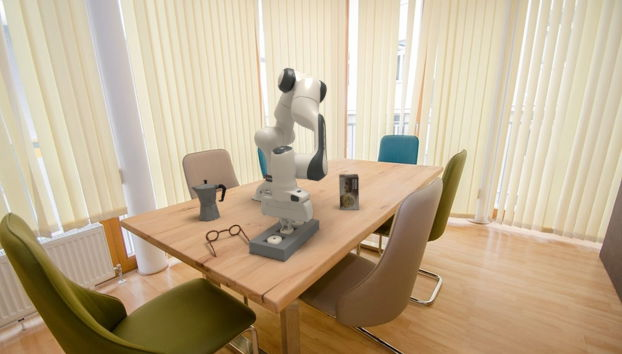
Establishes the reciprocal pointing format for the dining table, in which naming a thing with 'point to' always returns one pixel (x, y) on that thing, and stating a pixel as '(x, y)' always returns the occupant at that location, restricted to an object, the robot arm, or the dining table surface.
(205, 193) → the coffeepot
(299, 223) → the button two
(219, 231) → the glasses
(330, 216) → the dining table surface
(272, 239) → the button one
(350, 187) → the coffee box
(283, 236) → the button panel
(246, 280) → the dining table surface
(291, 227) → the button three
